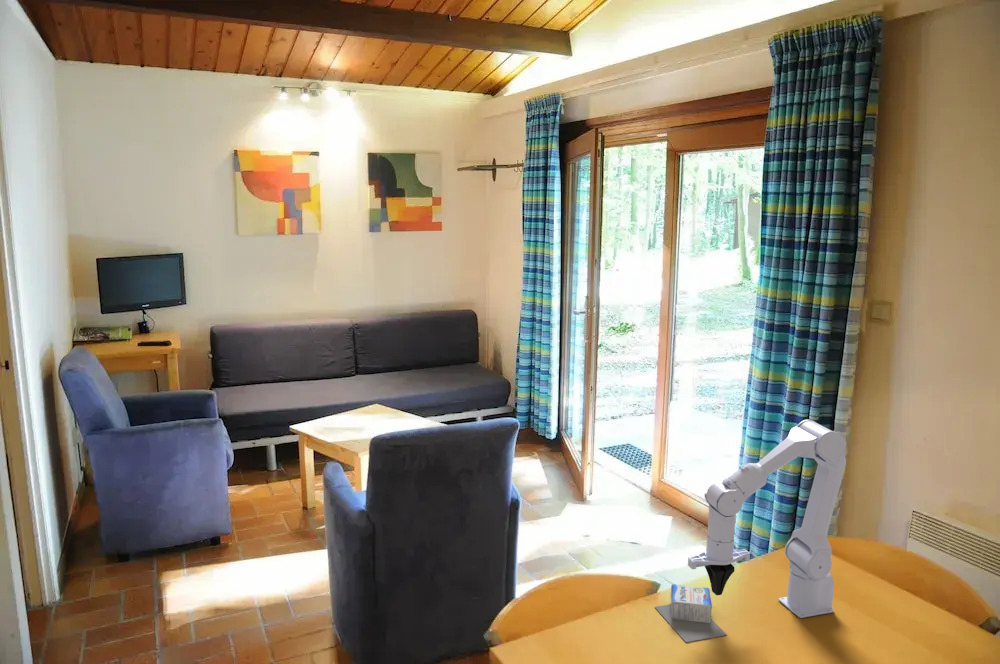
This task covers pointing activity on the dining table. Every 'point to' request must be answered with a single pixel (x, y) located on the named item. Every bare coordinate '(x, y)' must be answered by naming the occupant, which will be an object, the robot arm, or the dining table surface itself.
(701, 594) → the medicine box
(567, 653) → the dining table surface
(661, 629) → the dining table surface
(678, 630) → the grey mat
